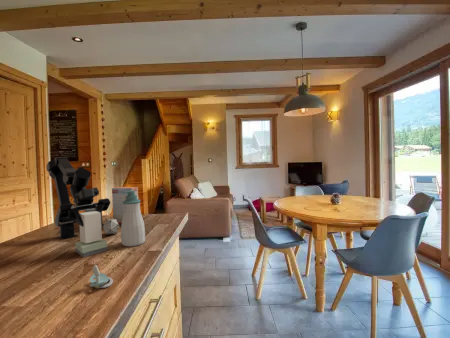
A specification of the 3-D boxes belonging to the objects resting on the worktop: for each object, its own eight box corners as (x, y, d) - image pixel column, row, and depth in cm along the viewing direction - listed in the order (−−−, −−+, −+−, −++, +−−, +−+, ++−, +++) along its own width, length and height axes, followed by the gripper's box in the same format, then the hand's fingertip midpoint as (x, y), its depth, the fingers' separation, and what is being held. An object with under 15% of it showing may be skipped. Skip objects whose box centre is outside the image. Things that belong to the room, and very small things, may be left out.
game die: (113, 242, 121) (111, 229, 115) (98, 236, 122) (95, 223, 116) (125, 229, 128) (123, 216, 122) (111, 223, 129) (109, 210, 123)
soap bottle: (117, 243, 108) (115, 191, 107) (138, 238, 115) (136, 189, 114) (128, 248, 101) (125, 193, 100) (149, 242, 108) (147, 190, 107)
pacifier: (111, 277, 77) (89, 282, 74) (111, 257, 77) (89, 261, 74) (114, 287, 71) (90, 293, 68) (114, 266, 71) (90, 270, 68)
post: (80, 240, 100) (78, 213, 99) (95, 236, 104) (94, 210, 104) (85, 243, 96) (84, 215, 95) (101, 239, 100) (100, 212, 100)
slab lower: (75, 253, 100) (75, 247, 100) (99, 247, 106) (98, 241, 106) (83, 258, 94) (83, 253, 94) (108, 251, 100) (107, 246, 100)
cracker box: (140, 222, 144) (138, 186, 143) (133, 225, 139) (131, 187, 138) (120, 221, 149) (118, 186, 148) (113, 223, 143) (111, 187, 142)
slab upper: (75, 248, 100) (75, 242, 100) (99, 242, 106) (98, 236, 106) (82, 253, 93) (82, 247, 93) (107, 246, 100) (106, 241, 100)
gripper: (57, 184, 95) (68, 216, 88) (107, 179, 108) (120, 207, 102) (53, 202, 100) (63, 234, 93) (101, 196, 114) (112, 223, 107)
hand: (91, 224), depth 99 cm, fingers closed on post, 6 cm apart
